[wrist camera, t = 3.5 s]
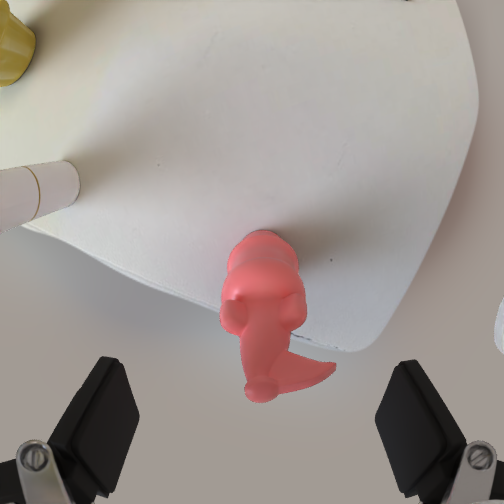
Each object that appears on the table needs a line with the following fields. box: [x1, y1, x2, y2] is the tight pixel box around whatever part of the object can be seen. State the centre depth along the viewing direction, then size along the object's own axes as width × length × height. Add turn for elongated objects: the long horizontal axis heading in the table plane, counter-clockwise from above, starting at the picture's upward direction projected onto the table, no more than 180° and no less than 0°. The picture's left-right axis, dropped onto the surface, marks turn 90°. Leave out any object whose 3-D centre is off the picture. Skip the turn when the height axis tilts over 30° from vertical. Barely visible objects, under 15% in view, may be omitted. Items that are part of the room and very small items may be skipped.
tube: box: [0, 161, 80, 234], centre depth 15 cm, size 4×4×15 cm
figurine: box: [220, 230, 336, 403], centre depth 16 cm, size 5×5×15 cm
